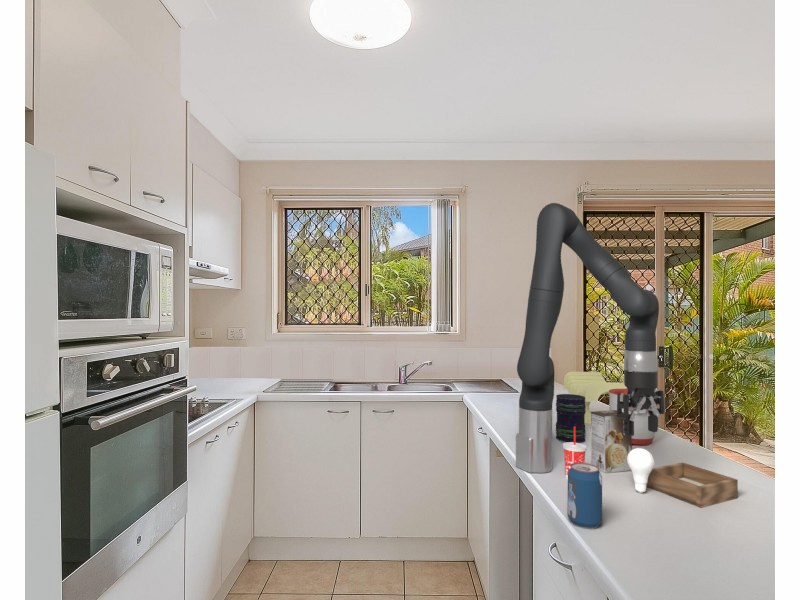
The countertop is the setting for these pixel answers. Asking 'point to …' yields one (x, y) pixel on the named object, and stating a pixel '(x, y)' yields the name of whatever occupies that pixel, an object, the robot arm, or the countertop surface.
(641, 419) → the citrus juicer
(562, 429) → the storage jar
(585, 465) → the soda can
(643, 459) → the lightbulb
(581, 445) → the beverage cup
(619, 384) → the hair dryer
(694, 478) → the parts box
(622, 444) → the coffee box
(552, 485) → the countertop surface
